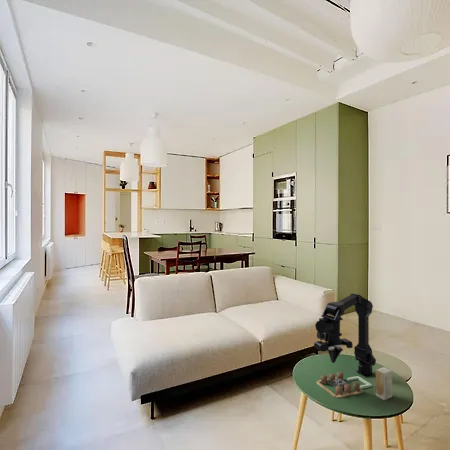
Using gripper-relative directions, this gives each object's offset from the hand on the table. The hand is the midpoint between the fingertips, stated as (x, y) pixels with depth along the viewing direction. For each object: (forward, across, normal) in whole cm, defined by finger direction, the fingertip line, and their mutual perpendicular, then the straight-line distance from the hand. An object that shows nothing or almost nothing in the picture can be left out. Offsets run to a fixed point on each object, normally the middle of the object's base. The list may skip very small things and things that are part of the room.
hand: (333, 362), depth 144 cm
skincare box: (+12, -18, +13) cm, 26 cm away
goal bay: (+12, -16, 0) cm, 21 cm away
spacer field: (+12, -4, 0) cm, 13 cm away
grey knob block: (+13, -4, 0) cm, 13 cm away
